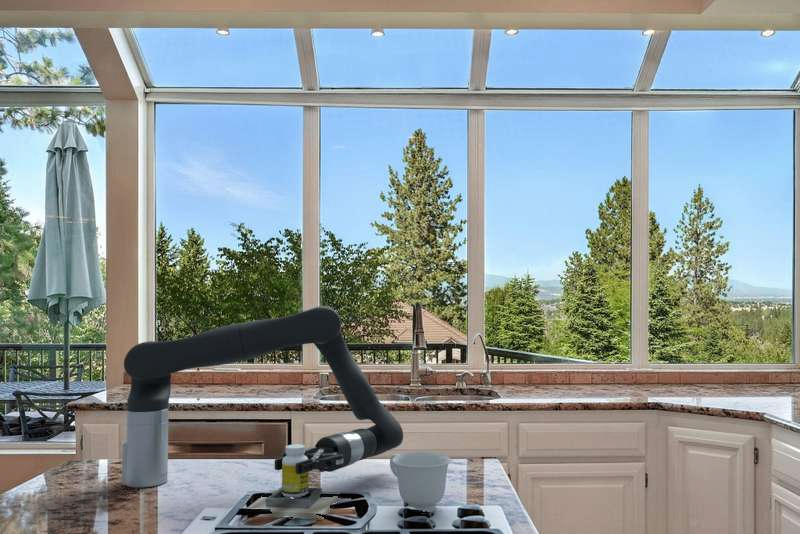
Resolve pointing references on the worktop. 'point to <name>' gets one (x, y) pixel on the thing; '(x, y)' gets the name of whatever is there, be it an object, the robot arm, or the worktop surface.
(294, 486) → the supplement bottle
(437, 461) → the teacup
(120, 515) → the worktop surface
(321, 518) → the seat board
